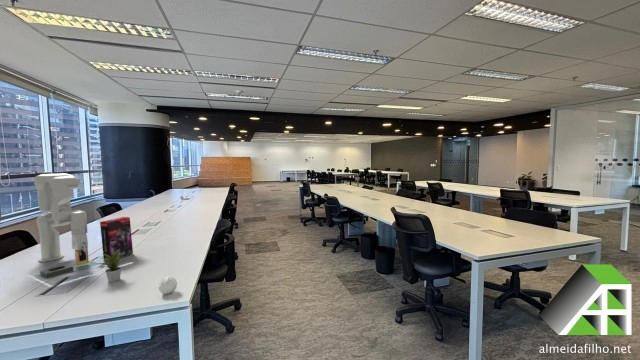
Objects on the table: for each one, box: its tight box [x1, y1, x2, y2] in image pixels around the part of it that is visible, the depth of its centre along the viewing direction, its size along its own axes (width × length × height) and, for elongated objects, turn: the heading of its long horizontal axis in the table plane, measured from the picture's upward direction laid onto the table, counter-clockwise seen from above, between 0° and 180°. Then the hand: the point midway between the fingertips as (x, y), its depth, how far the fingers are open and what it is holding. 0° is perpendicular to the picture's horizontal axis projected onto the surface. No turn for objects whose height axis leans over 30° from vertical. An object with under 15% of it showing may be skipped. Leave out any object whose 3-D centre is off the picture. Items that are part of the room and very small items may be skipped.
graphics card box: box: [99, 216, 134, 261], centre depth 186 cm, size 17×7×27 cm, turn 168°
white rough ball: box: [158, 276, 178, 295], centre depth 132 cm, size 8×8×8 cm
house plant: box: [97, 250, 126, 283], centre depth 150 cm, size 14×14×16 cm
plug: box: [74, 248, 90, 266], centre depth 169 cm, size 4×6×9 cm, turn 151°
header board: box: [35, 260, 100, 280], centre depth 164 cm, size 13×26×4 cm, turn 151°
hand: (81, 259), depth 169 cm, fingers closed on plug, 3 cm apart
